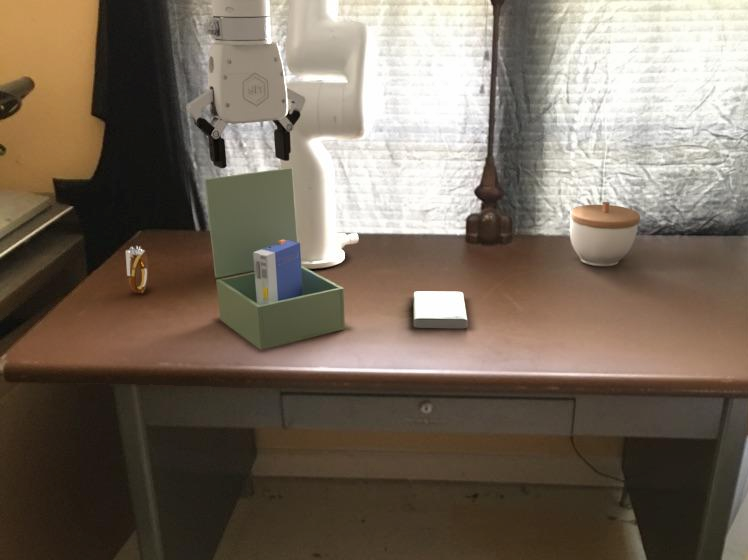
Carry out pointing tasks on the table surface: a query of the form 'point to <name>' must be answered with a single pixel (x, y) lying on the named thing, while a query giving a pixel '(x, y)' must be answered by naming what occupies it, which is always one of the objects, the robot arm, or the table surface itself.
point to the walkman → (278, 272)
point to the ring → (132, 272)
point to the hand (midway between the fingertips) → (251, 162)
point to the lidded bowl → (603, 233)
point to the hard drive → (439, 310)
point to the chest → (281, 310)
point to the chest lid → (248, 216)
